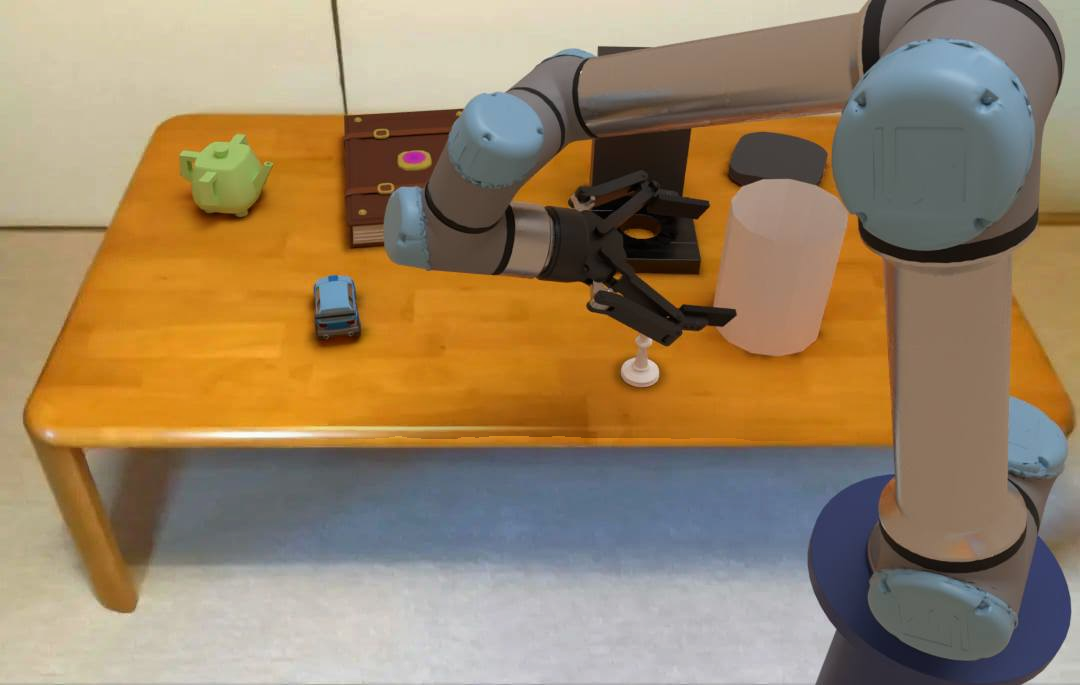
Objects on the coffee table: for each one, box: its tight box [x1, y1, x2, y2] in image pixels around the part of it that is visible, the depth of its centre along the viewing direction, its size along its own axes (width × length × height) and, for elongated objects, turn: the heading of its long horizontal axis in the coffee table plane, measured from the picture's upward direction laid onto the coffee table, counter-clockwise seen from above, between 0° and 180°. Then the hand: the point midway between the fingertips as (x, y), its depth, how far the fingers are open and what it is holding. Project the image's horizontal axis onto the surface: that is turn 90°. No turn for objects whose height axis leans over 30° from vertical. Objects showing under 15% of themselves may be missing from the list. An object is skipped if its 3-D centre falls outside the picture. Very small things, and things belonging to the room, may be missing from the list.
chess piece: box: [620, 332, 660, 388], centre depth 127 cm, size 5×5×10 cm
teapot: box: [178, 133, 275, 218], centre depth 154 cm, size 12×12×10 cm
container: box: [712, 179, 850, 358], centre depth 132 cm, size 14×14×18 cm
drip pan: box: [590, 196, 702, 275], centre depth 151 cm, size 16×16×2 cm
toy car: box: [313, 274, 362, 341], centre depth 135 cm, size 6×12×6 cm, turn 11°
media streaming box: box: [727, 131, 829, 187], centre depth 166 cm, size 15×15×3 cm
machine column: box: [588, 45, 693, 197], centre depth 149 cm, size 11×14×26 cm
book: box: [342, 107, 465, 248], centre depth 160 cm, size 23×32×5 cm
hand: (716, 262), depth 111 cm, fingers open, 13 cm apart
